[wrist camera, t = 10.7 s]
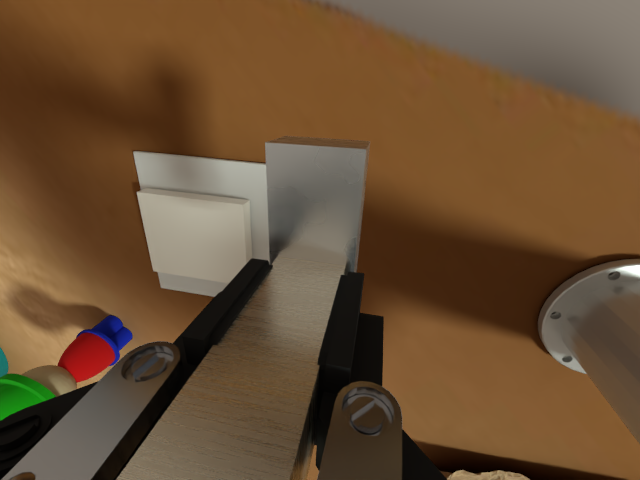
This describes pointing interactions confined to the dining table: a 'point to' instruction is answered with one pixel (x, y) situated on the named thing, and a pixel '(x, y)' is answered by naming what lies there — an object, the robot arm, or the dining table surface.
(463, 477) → the beige crumpled flat piece
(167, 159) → the mat
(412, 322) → the dining table surface
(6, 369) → the whale figurine
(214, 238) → the tile
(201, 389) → the white inverted t block
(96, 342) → the toy
